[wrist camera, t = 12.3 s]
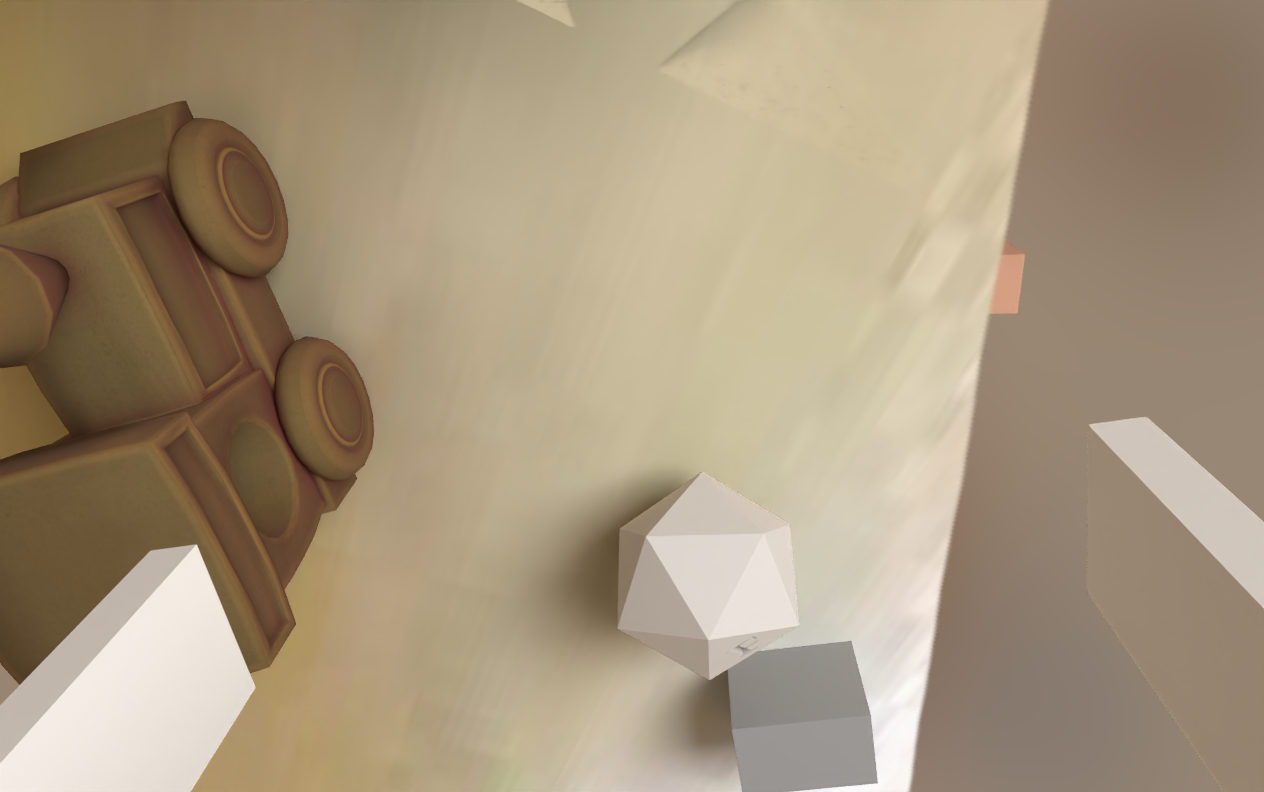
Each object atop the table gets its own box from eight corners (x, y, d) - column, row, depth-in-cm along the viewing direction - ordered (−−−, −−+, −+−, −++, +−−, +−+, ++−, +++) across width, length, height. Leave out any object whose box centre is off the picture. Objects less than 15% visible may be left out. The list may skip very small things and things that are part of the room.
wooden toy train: (412, 464, 49) (290, 671, 34) (220, 513, 51) (23, 730, 36) (249, 82, 42) (3, 128, 27) (32, 154, 44) (-314, 235, 29)
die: (692, 617, 52) (694, 749, 43) (589, 507, 50) (567, 621, 41) (818, 537, 50) (849, 658, 41) (716, 417, 48) (724, 517, 38)
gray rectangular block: (726, 654, 53) (731, 729, 48) (850, 640, 52) (870, 715, 47) (737, 716, 55) (743, 795, 49) (857, 703, 54) (877, 783, 49)
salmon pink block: (999, 235, 74) (1025, 254, 68) (993, 290, 75) (1017, 313, 70) (909, 237, 74) (927, 256, 69) (904, 292, 76) (922, 314, 70)
